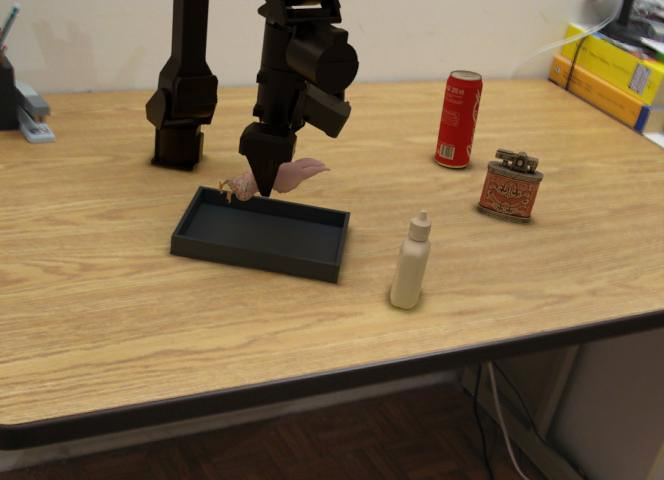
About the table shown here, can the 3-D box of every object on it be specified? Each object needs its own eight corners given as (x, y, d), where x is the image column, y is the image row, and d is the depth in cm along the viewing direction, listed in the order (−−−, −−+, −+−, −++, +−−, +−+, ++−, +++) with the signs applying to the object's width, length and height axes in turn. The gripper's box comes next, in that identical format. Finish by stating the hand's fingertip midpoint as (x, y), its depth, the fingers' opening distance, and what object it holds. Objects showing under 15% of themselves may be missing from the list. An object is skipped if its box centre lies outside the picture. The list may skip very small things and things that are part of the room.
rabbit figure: (234, 219, 107) (339, 188, 113) (232, 177, 104) (340, 147, 109) (214, 196, 112) (316, 168, 117) (210, 155, 108) (316, 127, 114)
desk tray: (170, 253, 109) (171, 235, 108) (198, 202, 122) (199, 185, 121) (336, 284, 108) (340, 266, 106) (347, 228, 121) (350, 212, 119)
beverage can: (467, 172, 143) (489, 84, 135) (428, 165, 143) (448, 76, 135) (468, 159, 148) (490, 72, 140) (430, 151, 148) (449, 65, 140)
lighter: (530, 216, 131) (549, 155, 126) (528, 226, 128) (547, 163, 123) (478, 203, 133) (494, 142, 128) (474, 212, 130) (490, 150, 125)
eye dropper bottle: (375, 296, 106) (394, 209, 100) (404, 283, 110) (423, 197, 104) (403, 313, 104) (423, 224, 98) (431, 299, 107) (453, 212, 101)
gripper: (345, 101, 94) (324, 228, 102) (358, 53, 110) (339, 166, 118) (244, 84, 95) (231, 212, 103) (272, 38, 110) (259, 152, 119)
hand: (270, 184), depth 111 cm, fingers closed on rabbit figure, 7 cm apart
